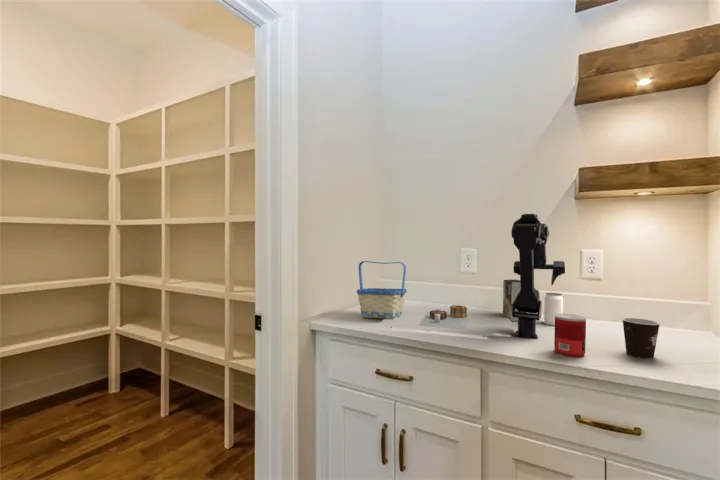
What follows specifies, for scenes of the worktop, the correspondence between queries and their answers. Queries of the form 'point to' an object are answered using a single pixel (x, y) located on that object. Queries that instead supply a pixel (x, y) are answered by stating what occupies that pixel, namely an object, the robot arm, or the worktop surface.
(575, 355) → the canned food
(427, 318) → the gear board
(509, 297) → the coffee box
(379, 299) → the basket
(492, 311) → the worktop surface
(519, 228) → the robot arm
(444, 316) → the walnut gear
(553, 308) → the can
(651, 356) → the coffee mug
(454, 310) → the oak gear
